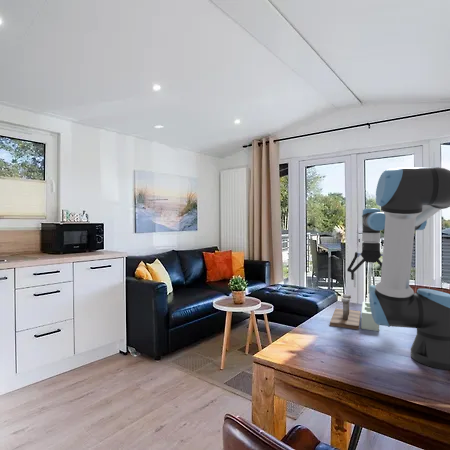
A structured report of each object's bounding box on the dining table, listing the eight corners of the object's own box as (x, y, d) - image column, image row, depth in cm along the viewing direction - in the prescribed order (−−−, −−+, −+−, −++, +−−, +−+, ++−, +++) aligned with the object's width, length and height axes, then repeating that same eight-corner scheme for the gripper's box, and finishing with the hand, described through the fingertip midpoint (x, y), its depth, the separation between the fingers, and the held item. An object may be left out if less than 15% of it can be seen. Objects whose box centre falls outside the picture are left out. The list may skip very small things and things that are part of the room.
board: (358, 329, 139) (359, 304, 139) (329, 325, 144) (329, 301, 144) (360, 314, 162) (360, 292, 162) (335, 311, 167) (335, 290, 167)
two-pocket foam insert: (379, 331, 137) (379, 314, 137) (361, 328, 140) (361, 312, 140) (378, 317, 156) (378, 303, 156) (362, 315, 159) (362, 301, 159)
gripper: (401, 242, 146) (400, 289, 146) (342, 240, 156) (342, 284, 157) (402, 243, 139) (402, 292, 139) (341, 241, 149) (341, 287, 150)
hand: (370, 288), depth 148 cm, fingers open, 13 cm apart
